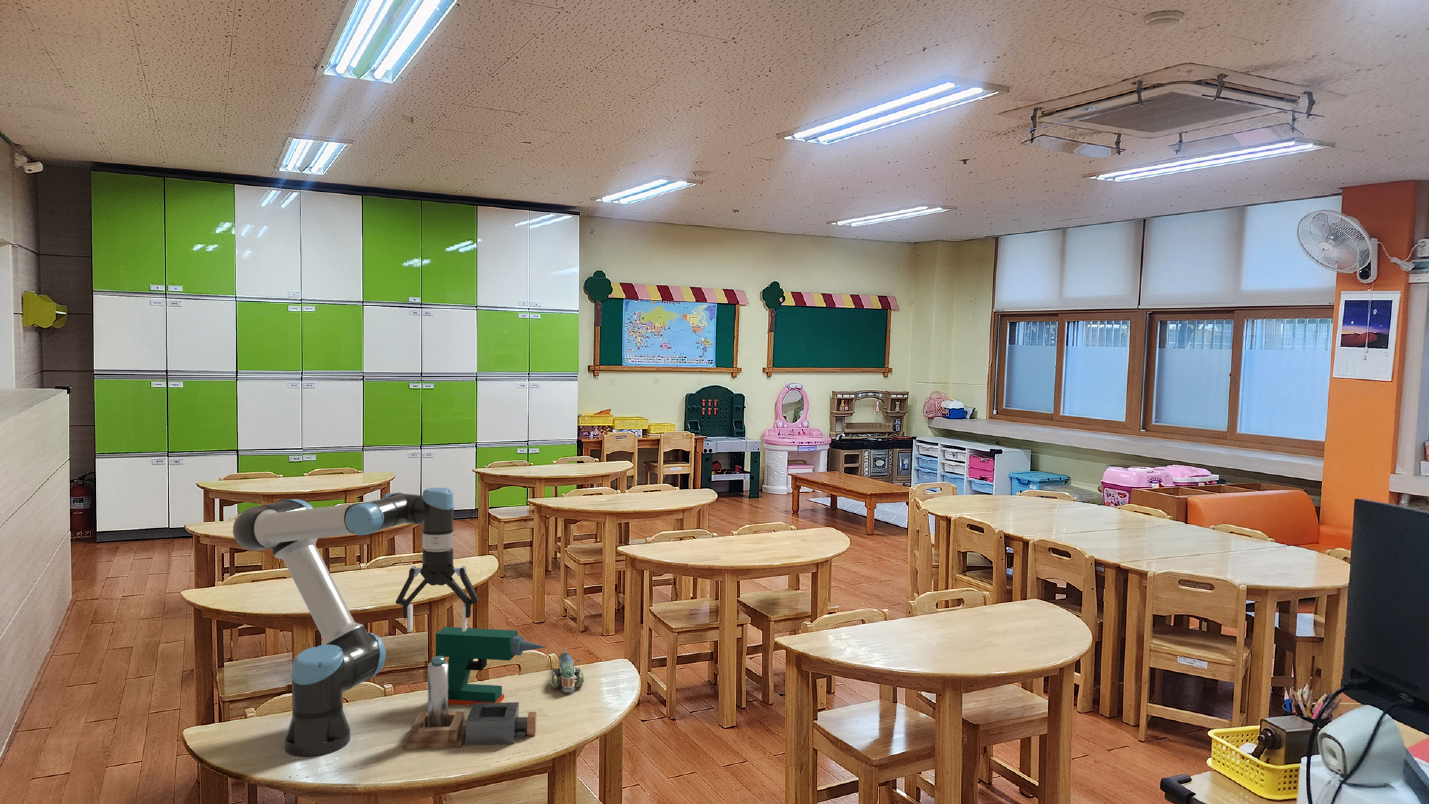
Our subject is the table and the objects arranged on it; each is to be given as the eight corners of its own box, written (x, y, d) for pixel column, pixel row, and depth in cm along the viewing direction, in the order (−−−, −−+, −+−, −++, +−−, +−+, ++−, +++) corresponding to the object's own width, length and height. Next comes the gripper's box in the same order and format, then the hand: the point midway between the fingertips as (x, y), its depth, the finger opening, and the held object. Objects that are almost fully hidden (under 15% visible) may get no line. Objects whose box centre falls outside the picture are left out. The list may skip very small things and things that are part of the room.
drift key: (504, 736, 226) (505, 718, 226) (506, 730, 230) (506, 712, 229) (535, 735, 227) (535, 717, 227) (536, 729, 230) (536, 711, 230)
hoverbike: (552, 696, 254) (552, 668, 253) (549, 666, 278) (549, 640, 278) (585, 694, 256) (585, 666, 255) (579, 664, 280) (579, 639, 280)
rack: (403, 749, 218) (403, 733, 218) (415, 725, 232) (415, 710, 232) (460, 747, 220) (460, 731, 219) (469, 723, 233) (469, 709, 233)
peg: (425, 736, 223) (426, 661, 222) (429, 728, 228) (430, 654, 227) (445, 736, 223) (446, 661, 222) (449, 727, 228) (449, 654, 227)
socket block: (465, 745, 221) (465, 722, 220) (472, 725, 233) (473, 703, 232) (523, 743, 222) (523, 720, 222) (527, 723, 234) (527, 701, 234)
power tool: (550, 700, 251) (551, 631, 250) (543, 709, 244) (544, 639, 243) (443, 693, 254) (444, 626, 253) (433, 703, 247) (433, 633, 246)
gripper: (383, 552, 218) (383, 635, 219) (485, 551, 221) (484, 634, 222) (391, 545, 225) (390, 626, 226) (489, 545, 228) (488, 625, 229)
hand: (437, 630), depth 224 cm, fingers open, 13 cm apart
